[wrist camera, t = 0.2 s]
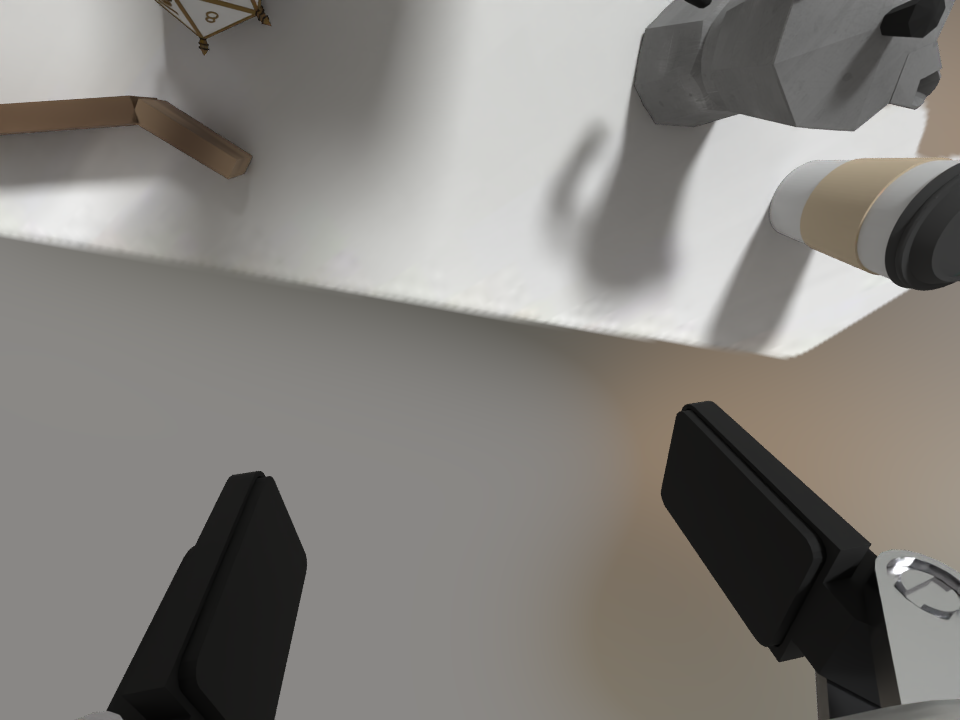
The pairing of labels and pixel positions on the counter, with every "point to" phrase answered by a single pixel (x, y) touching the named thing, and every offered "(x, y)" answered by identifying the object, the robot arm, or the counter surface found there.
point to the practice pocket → (129, 112)
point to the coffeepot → (789, 60)
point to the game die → (213, 15)
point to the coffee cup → (878, 216)
